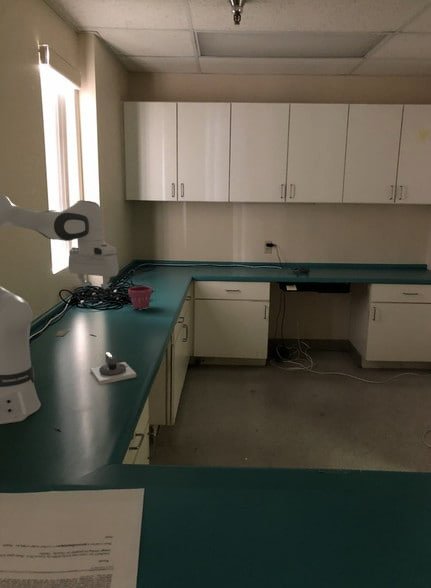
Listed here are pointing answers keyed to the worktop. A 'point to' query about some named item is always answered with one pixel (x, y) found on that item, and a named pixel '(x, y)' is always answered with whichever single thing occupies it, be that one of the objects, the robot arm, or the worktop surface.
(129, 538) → the worktop surface
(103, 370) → the dial
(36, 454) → the worktop surface
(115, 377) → the dial base
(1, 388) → the robot arm
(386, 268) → the worktop surface
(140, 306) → the plant pot
